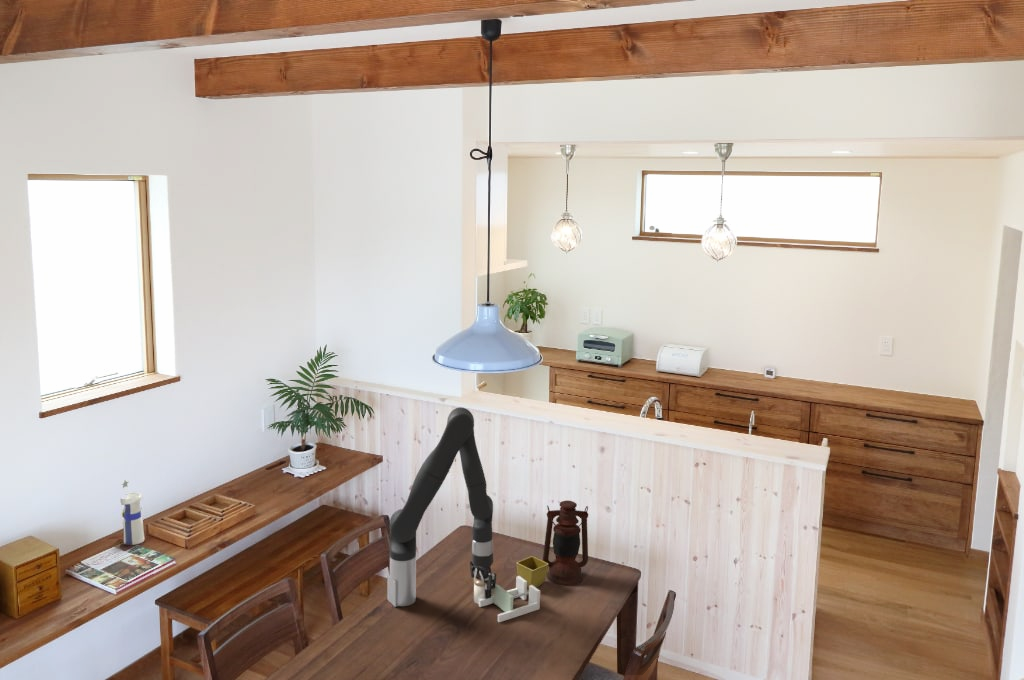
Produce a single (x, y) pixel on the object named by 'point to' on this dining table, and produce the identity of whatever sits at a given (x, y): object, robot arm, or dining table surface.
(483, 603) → the lane
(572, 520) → the lantern
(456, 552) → the dining table surface
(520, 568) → the flower pot
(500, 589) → the pusher
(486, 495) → the robot arm
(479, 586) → the jar
